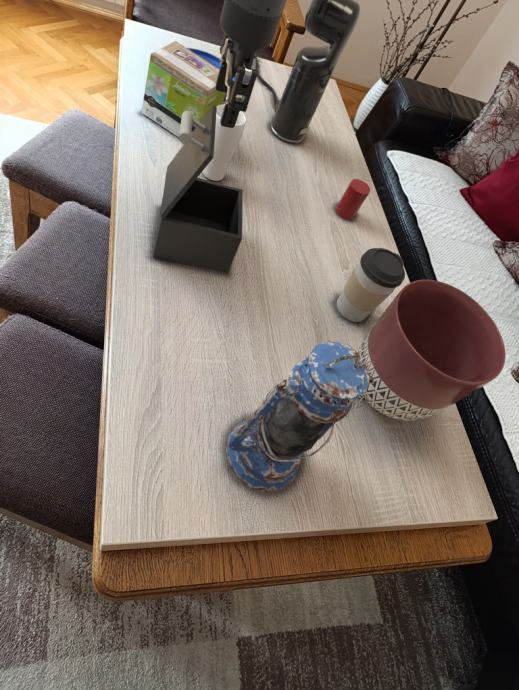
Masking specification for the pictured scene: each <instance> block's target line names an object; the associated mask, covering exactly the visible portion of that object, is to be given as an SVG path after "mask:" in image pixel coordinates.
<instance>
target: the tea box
mask: <svg viewBox="0 0 519 690" xmlns="http://www.w3.org/2000/svg"><path fill="white" fill-rule="evenodd" d="M187 48H188V47H187V46H184V45H183V44H182V43H180V42H178V41H177V40H174V41H173V42H170V43H169V44H167V45H165V46H163V47H161V48H159V49H157V50H156V51H154V52H151V53H150V56H149V60H148V61H149V62H148V67H147V73H146V74H147V76H146V81H145V87H144V94H143V99H142V100H143V101H142V107H141V114H142V115H144V116H146V117H147V118H149V119H150V120H151V121H154V122H155V123H157V124H158V125H159V126H161V127H162V128H164V129H166V130H167V131H168V132H170V133H171V134H172V135H174V136H176V137H178V138H179V133H180V126H181V118H182V113H183V112H185V111H189V112H191V113H192V114H193V119H195V120H196V121H198V122H199V123H200V122H201V120H202V119H203V118H204V116H205V115H206V114H207V112H208V111H209V110H210V108H211V107H212V106H213V105H214V106H216V107H217V106H219V105H223V103H224V100H225V99H224V97H225V92H220V91H217V90H216V86H215V85H216V81H217V77H218V73H219V70H220V69H218V68H216V67H215V66H213V65H212V64H210V63H209V62H207V61H206V60H204V59H203V58H201V57H200V56H198V55H197V54H195V53H193V52H192V51H190V50H189V49H187ZM195 129H196V127H195V126H194V125H192V131H191V134H192V133H193V131H194V130H195Z"/></svg>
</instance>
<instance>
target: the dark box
mask: <svg viewBox="0 0 519 690" xmlns="http://www.w3.org/2000/svg"><path fill="white" fill-rule="evenodd" d="M243 194H244V190H243V189H242V188H239V187H236V186H231V185H228V184H224V183H220V182H217V181H213V180H209V179H204V178H201V177H197V179H196V180H195V181H194V182H193V184H192V185H191V186H190V187H189V188H188V190H187V191H186V192H185V193H184V195H183V196H182V197H181V198H180V199H179V201H178V202H177V203H176V204H175V206H174V207H173V208H172V209H171V211H170V212H169V213H168V214H167V215H166V217H165V218H164V219H163V218H162V217H160V213H161V206H162V202H161V203H160V206H159V207H160V208H159V212H158V213H159V214H158V221H157V228H156V234H155V240H154V246H153V247H154V248H153V253H152V257H153V258H154V259H158V260H163V261H169V262H173V263H177V264H180V265H181V264H182V265H186V266H191V267H196V268H199V269H200V268H201V269H205V270H209V271H215V272H219V273H222V274H223V273H224V274H229V272H230V270H231V267H232V264H233V262H234V259H235V257H236V254H237V253H238V250H239V247H240V246H241V243H242V240H243V211H244V210H243V209H244V208H243V207H244V206H243V205H244V203H243V202H244V201H243V200H244V196H243ZM162 199H163V197H162V198H161V200H162Z"/></svg>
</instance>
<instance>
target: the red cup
mask: <svg viewBox="0 0 519 690" xmlns="http://www.w3.org/2000/svg"><path fill="white" fill-rule="evenodd" d="M370 193H371V187H370V186H369V184H368V183H366V182H365V181H364V180H362V179H359V178H354V179H352V180H351V181H350V183H349V184H348V186H347V187H346V189H345V191H344V192H343V194H342V195H341V196H342V197H341V198H340V199H339V201H338V203H337V204H336V206H335V212H336V214H337V215H338V216H339V217H341V218H342V219H344V220H348V221H350V220H353V219H354V218H355V216H356V215H357V213H358V212H359V211H360V209H361V207H362V205H363V204H364V203H365V200H366V199H367V197H368V196H369V195H370Z"/></svg>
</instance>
